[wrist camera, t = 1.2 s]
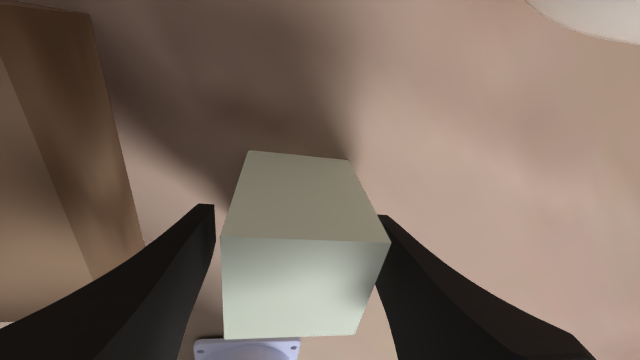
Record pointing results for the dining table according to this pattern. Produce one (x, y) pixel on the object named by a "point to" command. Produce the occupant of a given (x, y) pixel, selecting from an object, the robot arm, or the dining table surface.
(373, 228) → the sage block
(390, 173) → the dining table surface
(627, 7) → the lidded jar
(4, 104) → the walnut box
